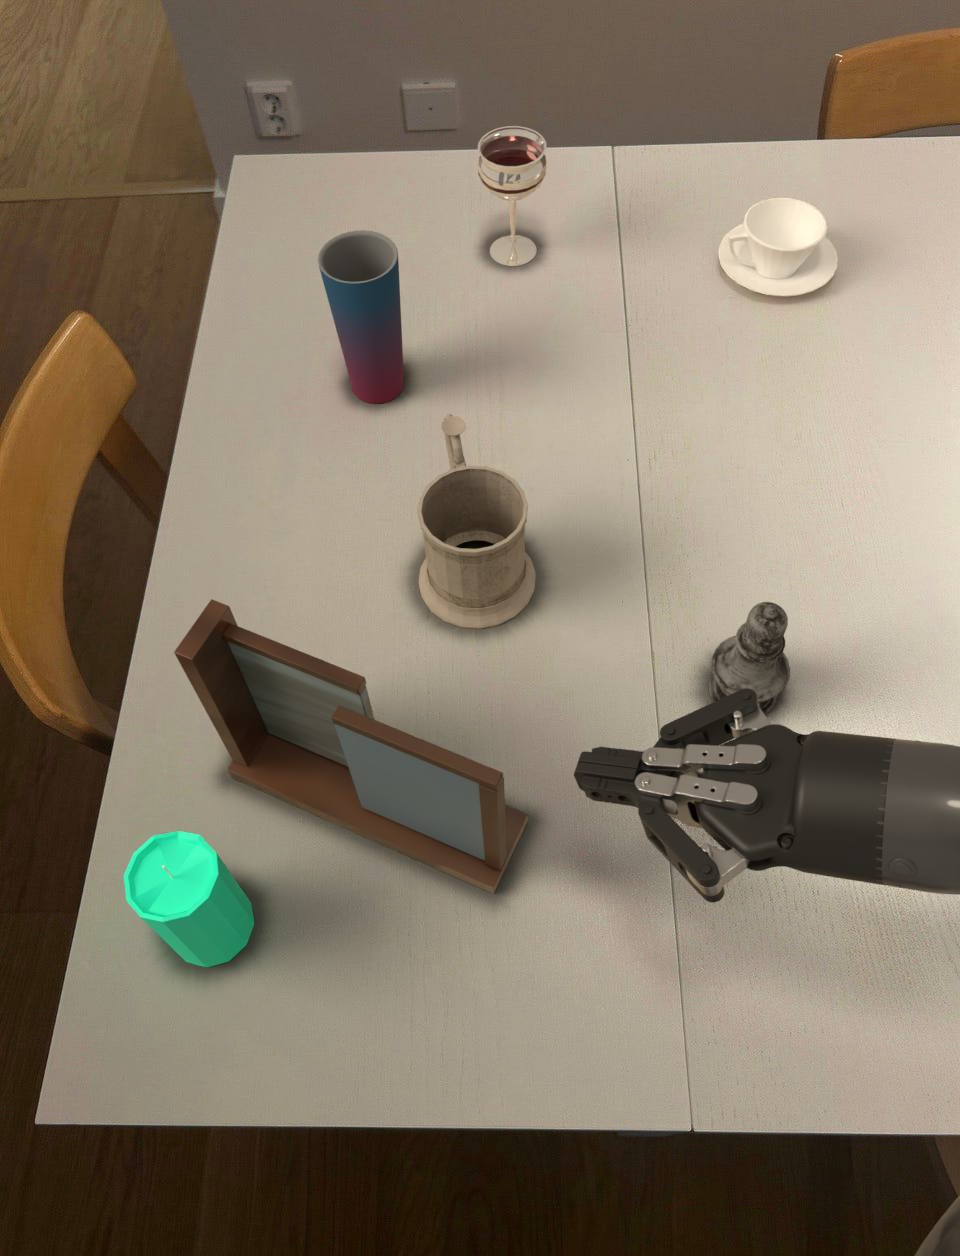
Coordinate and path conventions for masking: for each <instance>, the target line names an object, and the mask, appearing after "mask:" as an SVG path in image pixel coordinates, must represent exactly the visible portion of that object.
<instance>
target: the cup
mask: <svg viewBox="0 0 960 1256" xmlns="http://www.w3.org/2000/svg"><path fill="white" fill-rule="evenodd" d="M317 264H318V269H319V271H320V275H321V279H322V283H323V287H324V290H325V295H326V298H327V301H328V305H329V309H330V313H331V315H332V316H331V317H332V319H333V324H334V326H335V330H336V335H337V337H338V338H337V339H338V341H339V345H340V348H341V352H342V356H343V360H344V364H345V368H346V371H347V375H348V377H349V381H350V386H351V389H352V392H353V394H354V395H355V396H356V398H358V399H359V400H360V401H362V402H364V403H368V404H374V405H376V404H385V403H387V402H391V401H393V400H394V399H396V398H397V397H398V396H399V395H400V394H401V393H402V392H403V390H404V387H405V373H404V370H405V369H404V352H403V351H404V349H403V332H402V331H403V329H402V307H401V305H402V304H401V286H400V283H401V282H400V265H399V251H398V247H397V246H396V244H395V243H394V241H393V240H392V239H391V238H389V237H388V236H387V235H384V234H382V233H381V232H377V231H372V230H365V229H364V230H363V229H361V230H351V231H346V232H343V233H340V234H338V235H336V236H334V237H332V238H331V239H329V240H327V242H325V244H323V246H322V247H321V249H320V250H319V253H318V255H317Z"/></svg>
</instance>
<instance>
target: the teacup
mask: <svg viewBox="0 0 960 1256" xmlns="http://www.w3.org/2000/svg"><path fill="white" fill-rule="evenodd" d="M828 226H829V225H828V221H827V218H826V217H825V215H824V214H823V212H822V211H820V209H818V208H817V207H816V206H814V205H812V204H810V203H808V202H807V201H804V200H801V199H799V198H791V197H772V198H766V199H763V200H760V201H758V202H756V203H755V204H753V205H752V206H751V207H750V208H749V209H748V210H747V211H746V212H745V215H744V217H743V222H742V223H740V224H739V225H737V226H735V227H733V228H732V229H731V230H729V231H728V232H727V233H726V234H725V235H724V236H723V238H722V239H721V242H719V245H718V252H717V253H718V254H717V257H718V260H719V263H720V266H721V268H722V269H723V271H724V272H725V273H726V275H727V276H728V277H729V278H730V279H732V280H733V281H734V282H735V283H737V284H738V285H739V286H741V287H744V288H746V289H748V290H750V291H751V292H755V293H759V294H762V295H766V296H774V297H795V296H796V297H797V296H801V295H806V294H809V293H813V292H814V291H817V290H818V289H820V288H823V287H824V286H825V285H826V284H827V283H828V282H829V281H830V280H831V279H832V278H834V275H835V273H836V271H837V269H838V263H839V260H838V259H839V256H838V253H837V251H836V248H835V246H834V244H833V243H832V242H831V241H830V239H829V238H828V237H827V233H828V229H829V227H828Z"/></svg>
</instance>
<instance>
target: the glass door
mask: <svg viewBox="0 0 960 1256" xmlns="http://www.w3.org/2000/svg"><path fill="white" fill-rule="evenodd" d="M374 719H375V718H374ZM374 719H371V718H369V717H366V716H364V715H361V714H359V713H357V712H354V711H352V710H349V709H347V708H344V707H342V706H338V707H337V709H336V711H335V712H334V714H333V716H332V721H333V723H334V724H335V727H336V730H337V733H338V736H339V739H340V742H341V745H342V748H343V751H344V755H345V758H346V761H347V764H348V767H349V770H350V773H351V776H352V779H353V782H354V785H355V788H356V791H357V794H358V797H359V800H360V803H361V806H362V807H363V808H365V809H367V810H370V811H372V812H374V813H376V814H379V815H381V816H383V817H386V818H388V819H390V820H392V821H395V822H397V823H399V824H402V825H404V826H406V827H408V828H411V829H413V830H415V831H418V832H420V833H422V834H425V835H427V836H429V837H431V838H434V839H436V840H438V841H441V842H443V843H445V844H447V845H450V846H452V847H454V848H457V849H459V850H461V851H463V852H466V853H468V854H470V855H473V856H475V857H477V858H480V859H482V860H484V861H485V864H487V865H489V866H491V867H494V868H496V869H498V870H501V868H502V866H503V864H504V862H505V860H506V857H507V846H506V818H505V805H506V796H505V795H506V794H505V791H506V790H505V777H504V773H503V772H502V771H500V770H497V769H494V768H492V767H490V766H488V765H485V764H483V763H481V762H478V761H475V760H473V759H470V758H469V757H466V756H464V755H461V754H458V753H456V752H453V751H451V750H449V749H446V748H443V747H442V746H440V745H438V744H434V743H432V742H429V741H427V740H424V739H422V738H420V737H417V736H415V735H412V734H410V733H407V732H406V731H403V730H401V729H398V728H395V727H393V726H390V725H388V724H386V723H383V722H381V721H378V720H376V719H375V720H374Z"/></svg>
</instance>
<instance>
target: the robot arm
mask: <svg viewBox="0 0 960 1256" xmlns="http://www.w3.org/2000/svg"><path fill="white" fill-rule="evenodd" d="M659 735H660V737H659V739H658V740H657V741H656V743H655V744H654V745H653V746H652V747H648V748H646V749H644V750H633V749H625V748H624V749H623V748H616V747H609V746H608V747H607V746H599V747H593V748H591V751H586V750H585V751H582V752H580V755H579V757H578V760H577V763H576V766H575V769H574V773H573V777H574V778H575V781H576V784H577V787H578V788H579V789H580V790H581V791H582V792H584V794H585V797H586V798H588V799H589V800H591V801H594V802H601V803H608V804H613V805H622V806H628V807H634V808H637V809H638V811H637V814H638V817H639V819H640V822H641V824H642V828H643V830H644V833H645V836H646V838H647V840H648V841H649V842H650V843H651V844H652V845H653V846H654V847H655V848H656V849H657V851H659V852H660V853H661V855H662V856H663V857H664V858H665V859H666V860H667V861H668V862H669V863H670V865H672V866H673V868H675V870H676V871H677V872H678V873H679V874H680V875H681V876H682V877H683V879H685V880H686V881H687V883H688V884H689V885H690V886H691V887H692V888H693V889H694V890H695V891H696V893H698V894H699V896H701V897H702V899H703V900H705V901H706V902H708V903H717V902H719V901H721V900H722V899H723V898H724V896H725V888H724V886H726V885H727V884H728V883H729V882H730V881H732V880H733V879H734V878H736V877H737V876H738V875H739V874H741V873H742V872H743V871H745V870H746V869H748V870H749V871H754V872H755V871H756V872H761V871H765V870H769V869H773V868H779V867H780V868H781V867H783V868H790V869H791V870H795V871H798V872H801V873H805V874H811V875H817V876H822V877H823V876H825V877H829V878H837V879H843V880H847V881H848V880H849V881H854V882H861V883H867V884H868V883H869V884H874V885H881V886H888V887H893V888H898V889H899V888H900V889H906V890H911V891H918V892H924V893H930V894H937V895H938V894H939V895H951V896H952V895H953V896H954V895H956V896H959V895H960V746H958V745H954V744H948V743H942V742H941V743H940V742H930V741H920V740H911V739H901V738H894V737H893V738H892V737H884V736H874V735H865V734H854V733H846V732H844V733H843V732H835V731H827V730H826V731H824V730H815V731H812V732H810V733H808V734H802V733H799V732H797V731H794V730H792V729H791V728H789V727H787V726H786V725H783V724H779V723H772V722H771V721H770V720H769V719H768V717H767V716H766V714H764V713H763V712H762V710H761V709H760V707H759V702H758V700H757V694H756V692H755V691H754V690H752V689H748V688H745V689H741V690H739V691H737V692H735V693H733V694H731V695H728V696H726V697H724V698H722V699H720V700H718V701H715V702H713V701H712V702H711V703H709V704H707V705H704V706H702V707H700V708H698V709H696V710H693V711H691V712H690V713H687V714H685V715H683V716H681V717H679V718H677V719H674V720H672V721H669V722H668V723H666V724H664V725H663V726H661V728H660V729H659ZM674 819H675V820H678V821H679V822H680V823H682V824H683V825H686V826H688V827H691V828H692V827H693V828H697V829H702V830H703V831H704V832H705V833H706V834H707V835H709V837H711V838H712V839H713V840H714V841H715V842H716V843H717V844H718V845H719V846H720V847H721V848H723V849H724V850H722V849H719V848H718V847H716V846H714V845H712V844H708V843H704V844H702V845H701V846H699V845H698V843H696V842H695V841H694V840H693V838H692V837H691V836H690V835H689V834H688V833H687V832H686V831H685V830H684V829H683V828H682V827H681V826H680V825H679V824H678V823H677V822H676V821H675V820H674ZM913 1256H960V1194H959V1195H958V1196H957V1197H956V1199H955V1200H954V1201H953V1202H952V1203H951V1204H950V1206H949V1207H948V1208H947V1209H946V1211H945V1212H944V1213H943V1214H942V1215H941V1217H940V1218H939V1219H938V1220H937V1222H936V1223H935V1224H934V1226H933V1227H932V1229H930V1232H928V1234H927V1235H926V1236H925V1238H924V1239H923V1241H922V1243H921V1244H920V1245H919V1247H918V1249H917V1250H916V1252H915V1254H914V1255H913Z"/></svg>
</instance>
